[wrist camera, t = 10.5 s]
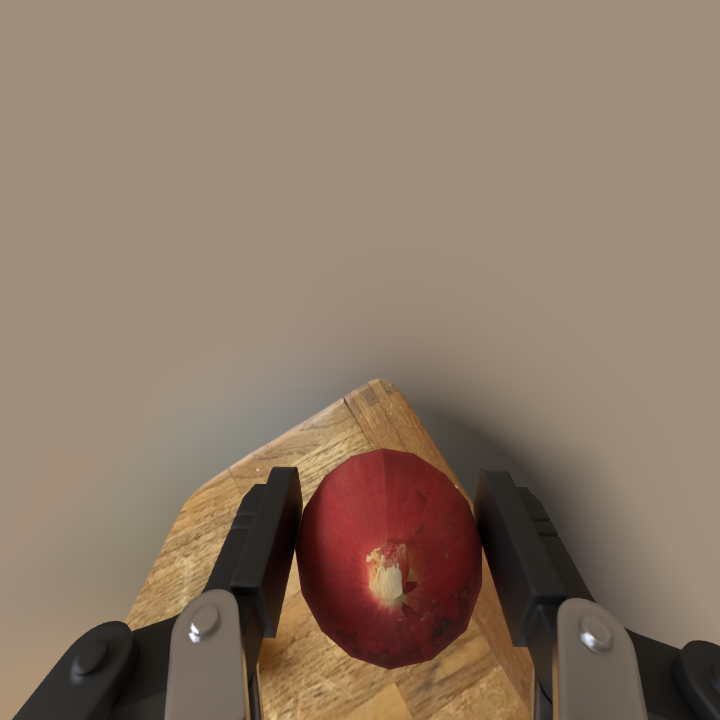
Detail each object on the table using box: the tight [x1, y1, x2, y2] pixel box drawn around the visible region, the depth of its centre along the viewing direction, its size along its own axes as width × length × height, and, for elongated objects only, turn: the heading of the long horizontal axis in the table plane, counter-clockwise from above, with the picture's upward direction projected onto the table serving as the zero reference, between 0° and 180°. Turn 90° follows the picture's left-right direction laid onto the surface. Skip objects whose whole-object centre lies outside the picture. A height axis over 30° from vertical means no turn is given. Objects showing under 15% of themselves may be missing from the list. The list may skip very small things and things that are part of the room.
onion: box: [295, 448, 482, 670], centre depth 10 cm, size 6×6×8 cm
